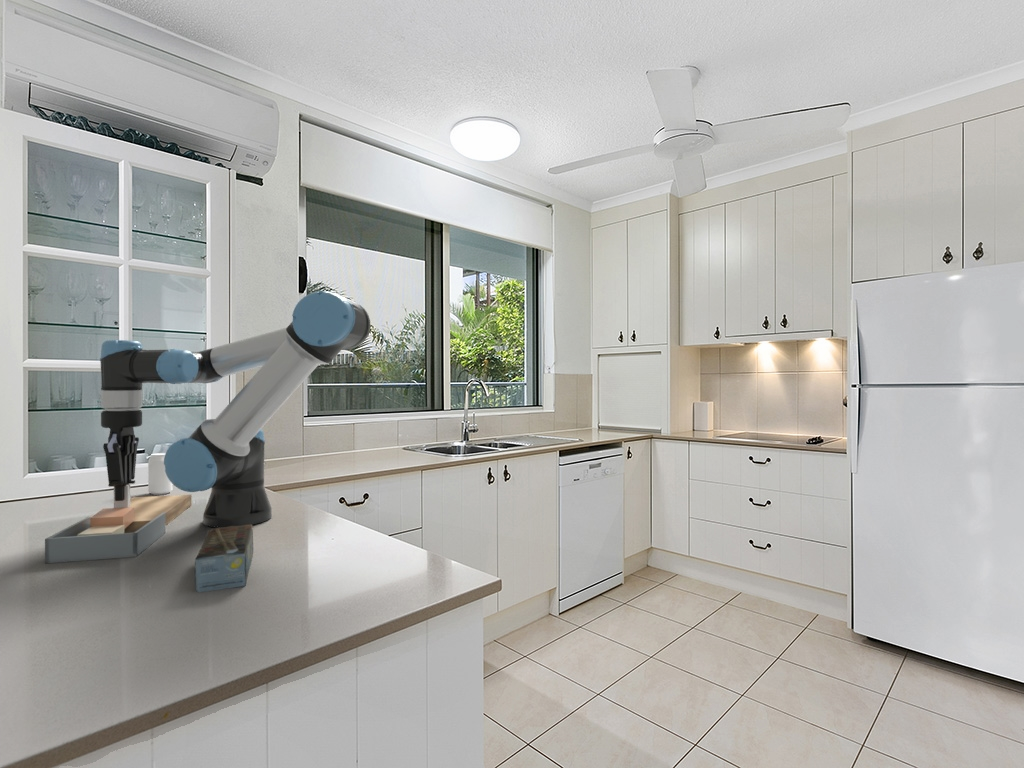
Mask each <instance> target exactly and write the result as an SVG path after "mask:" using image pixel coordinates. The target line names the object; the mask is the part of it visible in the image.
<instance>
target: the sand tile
mask: <svg viewBox="0 0 1024 768" xmlns="http://www.w3.org/2000/svg"><path fill="white" fill-rule="evenodd" d="M120 533H124V525H112V526H95V527H90V528H88V529H87V530H85V531H83V532H81V533H79V534H78V535H77V536H89V535H104V534H120Z"/></svg>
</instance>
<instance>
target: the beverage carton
mask: <svg viewBox="0 0 1024 768" xmlns="http://www.w3.org/2000/svg"><path fill="white" fill-rule="evenodd" d="M253 530H254V529H253V524H246V525H240V526H228V527H210V530H209V532H208V534H207V536H206V538H205V540H204V542H203V544H202V546H201V548H200V549H199V551H198V554H197V555H196V557H195V559H194V567H195V568H194V584H195V589H196V592H197V593H203V592H209V591H218V590H226V589H234V588H241V587H245V586H247V581H248V577H249V572H250V569H251V565H252V561H253V557H254V531H253Z"/></svg>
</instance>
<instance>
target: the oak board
mask: <svg viewBox="0 0 1024 768" xmlns="http://www.w3.org/2000/svg"><path fill="white" fill-rule="evenodd" d="M191 506H192V494H177V495H153V496H152V495H151V496H135V497H130V507H134V514H135V520H134V521H133V522H132V523H131V524H130V525H129V526H127V527H126V528H125V529H124V533H129V532H136V531H137V530H139V529H140V528H141V527H143V526H144V525H146V524H147V523H149V522H150V521H151V520H153V519H154V518H156V517H157V516H159V515H160V514H161V513H165V527H166V526H167V525H168V524H169V523H171V522H172V521H173V520H174V519H176V518H177V517H179V516H180V515H181V514H182V513H184V512H186V510H188V509H189V508H190V507H191Z"/></svg>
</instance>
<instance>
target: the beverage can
mask: <svg viewBox="0 0 1024 768" xmlns="http://www.w3.org/2000/svg"><path fill="white" fill-rule="evenodd" d="M165 454H166V452H156V453H151V454H150V456H149V458H148V461H147V465H148V466H147V467H148V468H147V469H148V471H147V474H148V475H147V478H148V479H147V482H148V484H147V485H148V488H147V491H148V493H149V494H151V495H153V496H162V495H165V494H166V495H167V494H169V493H170V492H172V491H173V486H174V485H173V484H172V483H171V482H170V480H169V479H168V477H167V475H166V473H165V465H164V457H165Z"/></svg>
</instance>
